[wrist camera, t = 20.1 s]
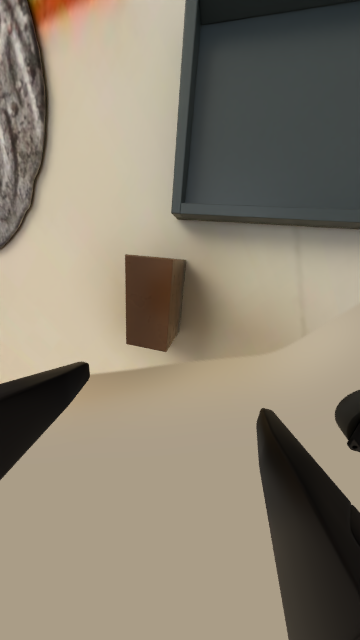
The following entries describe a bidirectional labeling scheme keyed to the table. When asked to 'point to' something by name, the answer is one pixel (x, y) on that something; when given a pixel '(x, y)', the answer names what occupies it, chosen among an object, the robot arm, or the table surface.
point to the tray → (269, 113)
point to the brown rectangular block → (153, 300)
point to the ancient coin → (19, 114)
